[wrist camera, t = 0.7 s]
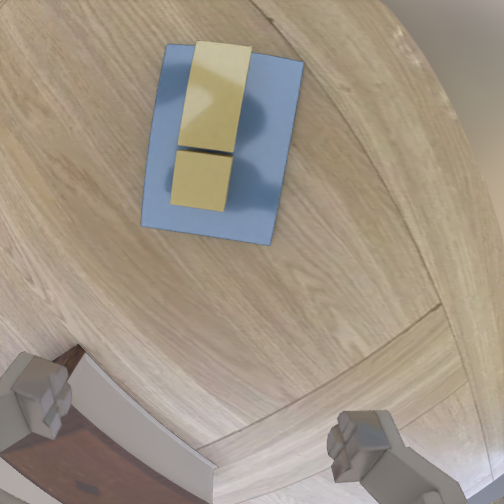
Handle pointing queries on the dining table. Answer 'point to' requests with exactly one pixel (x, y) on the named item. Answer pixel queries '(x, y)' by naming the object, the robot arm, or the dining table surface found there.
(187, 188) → the butter pat
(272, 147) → the butter dish
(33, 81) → the dining table surface
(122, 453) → the book
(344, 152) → the dining table surface
